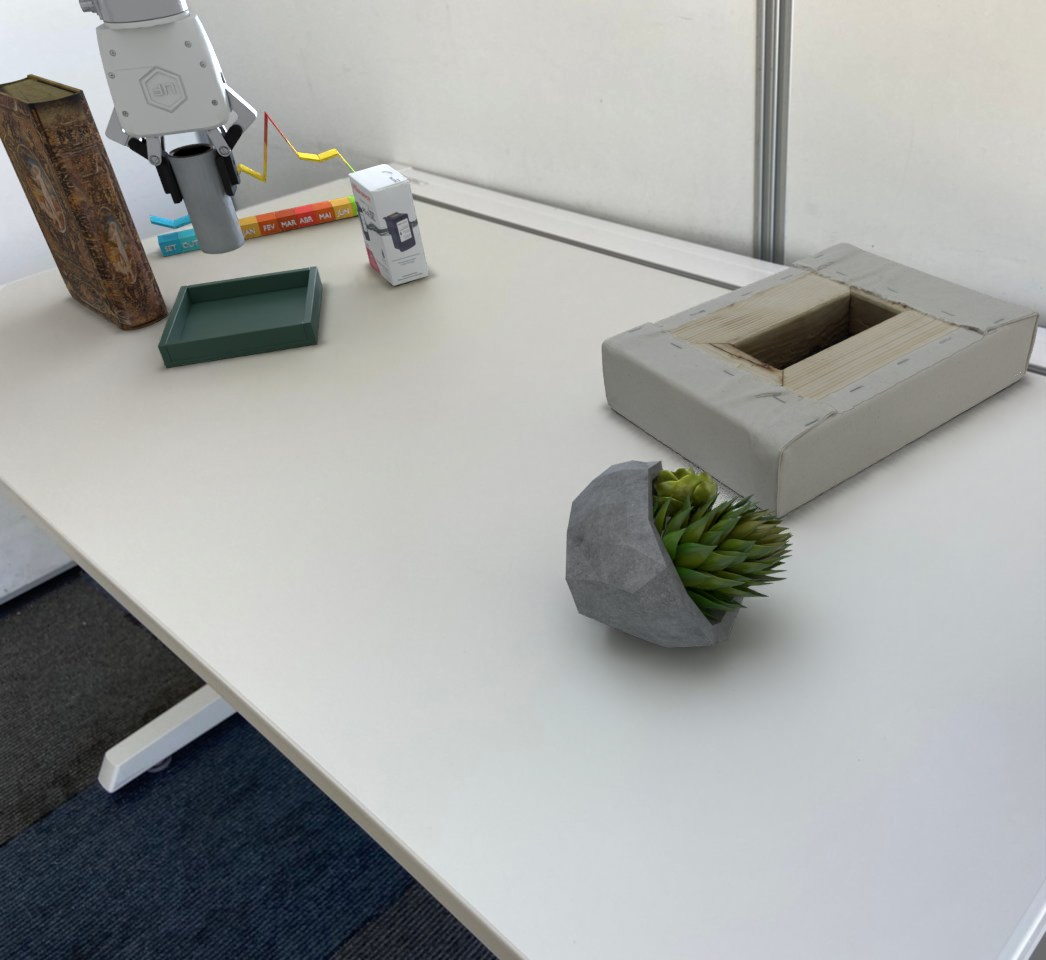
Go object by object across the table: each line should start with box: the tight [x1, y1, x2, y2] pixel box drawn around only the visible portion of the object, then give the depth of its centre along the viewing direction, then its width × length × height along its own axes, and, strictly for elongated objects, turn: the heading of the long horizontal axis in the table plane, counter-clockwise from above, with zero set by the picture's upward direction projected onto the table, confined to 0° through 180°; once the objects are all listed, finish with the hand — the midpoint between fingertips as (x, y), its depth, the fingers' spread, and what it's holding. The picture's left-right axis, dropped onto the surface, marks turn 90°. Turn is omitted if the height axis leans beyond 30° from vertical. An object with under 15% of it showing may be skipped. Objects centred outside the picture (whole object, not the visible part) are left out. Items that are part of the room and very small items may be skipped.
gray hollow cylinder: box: [167, 142, 245, 255], centre depth 102 cm, size 4×4×10 cm
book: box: [0, 73, 169, 331], centre depth 109 cm, size 16×6×25 cm, turn 47°
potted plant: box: [565, 460, 794, 649], centre depth 64 cm, size 12×13×15 cm
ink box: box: [347, 163, 430, 287], centre depth 116 cm, size 8×5×12 cm, turn 32°
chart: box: [149, 111, 358, 257], centre depth 130 cm, size 30×3×15 cm, turn 115°
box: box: [601, 242, 1041, 519], centre depth 88 cm, size 23×8×32 cm
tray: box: [157, 265, 323, 369], centre depth 109 cm, size 16×16×3 cm
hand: (205, 193), depth 101 cm, fingers closed on gray hollow cylinder, 4 cm apart
